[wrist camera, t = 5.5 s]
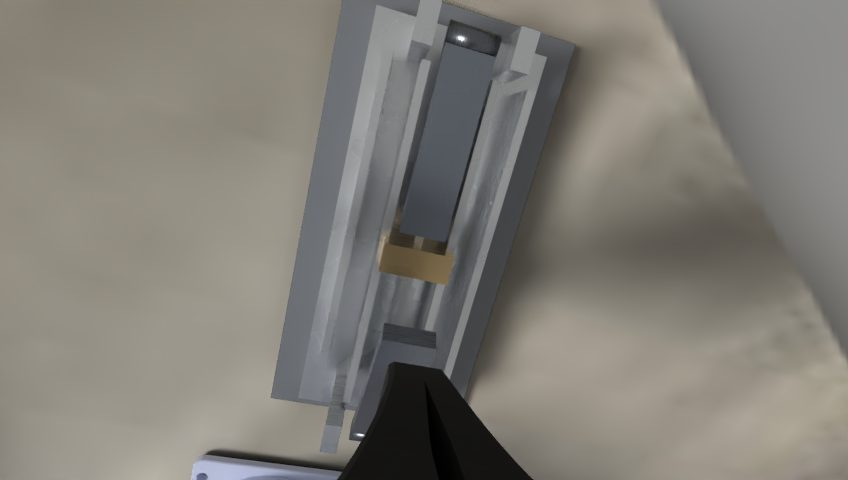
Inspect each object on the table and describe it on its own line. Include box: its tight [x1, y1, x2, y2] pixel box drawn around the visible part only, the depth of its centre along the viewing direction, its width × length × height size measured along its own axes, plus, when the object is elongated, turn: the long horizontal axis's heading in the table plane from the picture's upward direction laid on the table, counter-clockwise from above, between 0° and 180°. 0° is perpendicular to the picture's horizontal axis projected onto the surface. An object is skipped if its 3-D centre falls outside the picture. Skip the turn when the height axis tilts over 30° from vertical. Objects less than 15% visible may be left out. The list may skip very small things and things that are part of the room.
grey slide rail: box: [298, 0, 547, 454], centre depth 15 cm, size 16×6×4 cm, turn 166°
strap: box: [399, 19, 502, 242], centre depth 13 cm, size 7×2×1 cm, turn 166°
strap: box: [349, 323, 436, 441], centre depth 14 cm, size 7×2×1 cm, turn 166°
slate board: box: [271, 0, 576, 411], centre depth 17 cm, size 18×9×1 cm, turn 166°
